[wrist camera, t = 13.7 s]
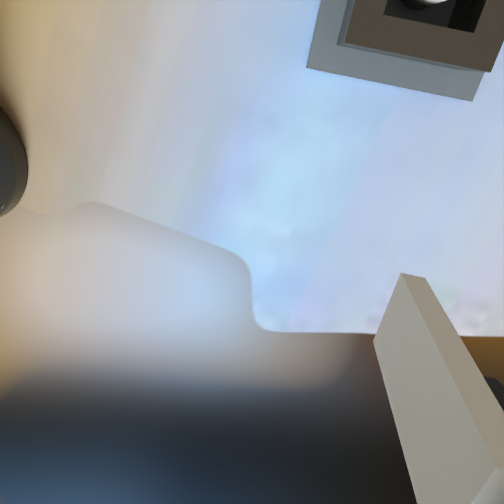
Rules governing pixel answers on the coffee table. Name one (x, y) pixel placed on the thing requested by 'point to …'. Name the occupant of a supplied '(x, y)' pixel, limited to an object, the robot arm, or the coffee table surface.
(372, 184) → the coffee table surface
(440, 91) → the keeper
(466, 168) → the coffee table surface
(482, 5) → the hollow square block
